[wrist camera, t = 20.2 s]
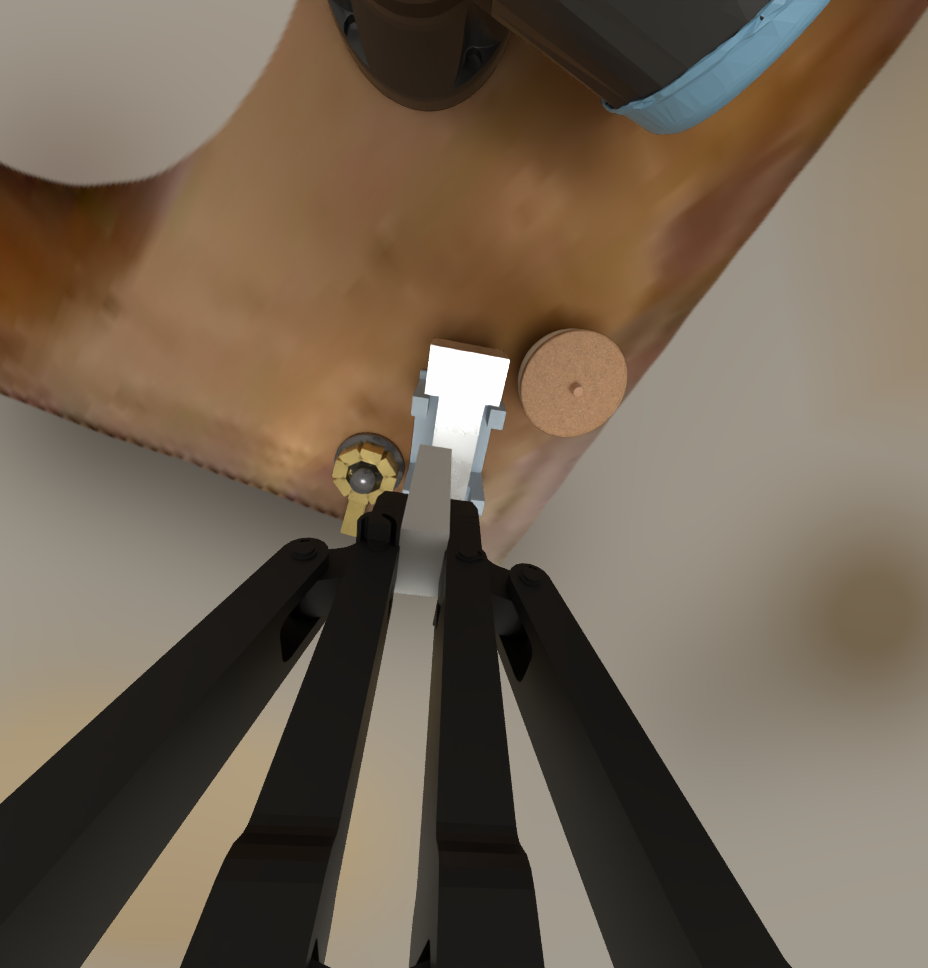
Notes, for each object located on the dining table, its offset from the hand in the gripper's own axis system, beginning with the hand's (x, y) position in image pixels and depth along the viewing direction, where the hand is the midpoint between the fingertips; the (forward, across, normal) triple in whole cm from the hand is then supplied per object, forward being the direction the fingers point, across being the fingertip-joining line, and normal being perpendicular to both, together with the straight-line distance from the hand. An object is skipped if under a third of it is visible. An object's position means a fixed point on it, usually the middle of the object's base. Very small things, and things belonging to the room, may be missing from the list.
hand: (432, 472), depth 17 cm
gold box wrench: (+27, -9, -18) cm, 34 cm away
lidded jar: (+29, +13, +1) cm, 32 cm away
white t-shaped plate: (+23, +2, -8) cm, 25 cm away
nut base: (+28, -8, -15) cm, 33 cm away
